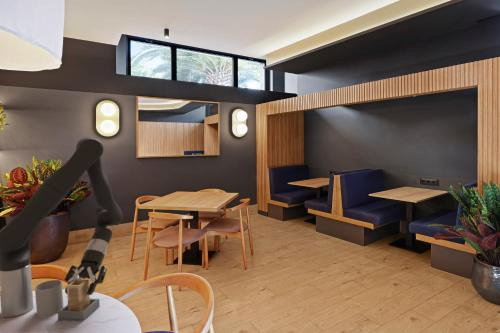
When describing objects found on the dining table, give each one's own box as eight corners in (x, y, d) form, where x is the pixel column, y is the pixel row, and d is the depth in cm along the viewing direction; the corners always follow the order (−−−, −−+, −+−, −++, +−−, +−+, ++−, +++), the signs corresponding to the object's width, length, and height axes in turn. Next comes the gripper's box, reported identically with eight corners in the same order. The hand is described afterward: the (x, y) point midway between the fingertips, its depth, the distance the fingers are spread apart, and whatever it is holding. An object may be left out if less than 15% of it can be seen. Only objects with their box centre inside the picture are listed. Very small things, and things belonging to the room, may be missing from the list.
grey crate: (83, 320, 105) (83, 312, 105) (58, 319, 106) (57, 311, 106) (99, 306, 115) (99, 298, 114) (76, 305, 115) (75, 298, 115)
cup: (49, 317, 108) (48, 291, 107) (31, 315, 109) (29, 289, 109) (68, 305, 116) (66, 280, 115) (50, 303, 117) (49, 279, 117)
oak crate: (81, 315, 107) (79, 285, 107) (68, 314, 108) (66, 285, 107) (90, 307, 112) (88, 279, 112) (77, 307, 113) (76, 279, 112)
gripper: (74, 248, 118) (54, 290, 107) (107, 248, 116) (91, 291, 106) (83, 256, 123) (65, 296, 113) (116, 256, 122) (100, 298, 111)
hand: (78, 294), depth 109 cm, fingers open, 8 cm apart
